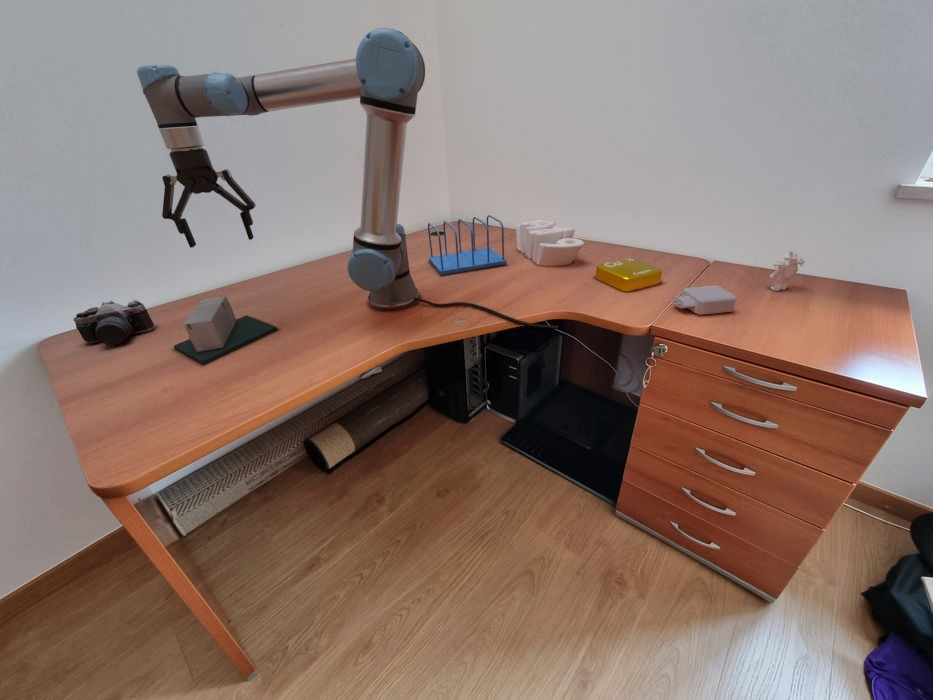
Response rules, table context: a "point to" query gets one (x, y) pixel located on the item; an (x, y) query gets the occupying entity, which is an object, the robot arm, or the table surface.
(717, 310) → the charger
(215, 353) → the desk mat
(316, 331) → the table surface
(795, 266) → the hat wearing toy figure
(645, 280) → the element tile
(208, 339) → the cosmetic box
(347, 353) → the table surface
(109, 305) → the camera
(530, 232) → the wavy white extrusion
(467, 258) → the file sorter
